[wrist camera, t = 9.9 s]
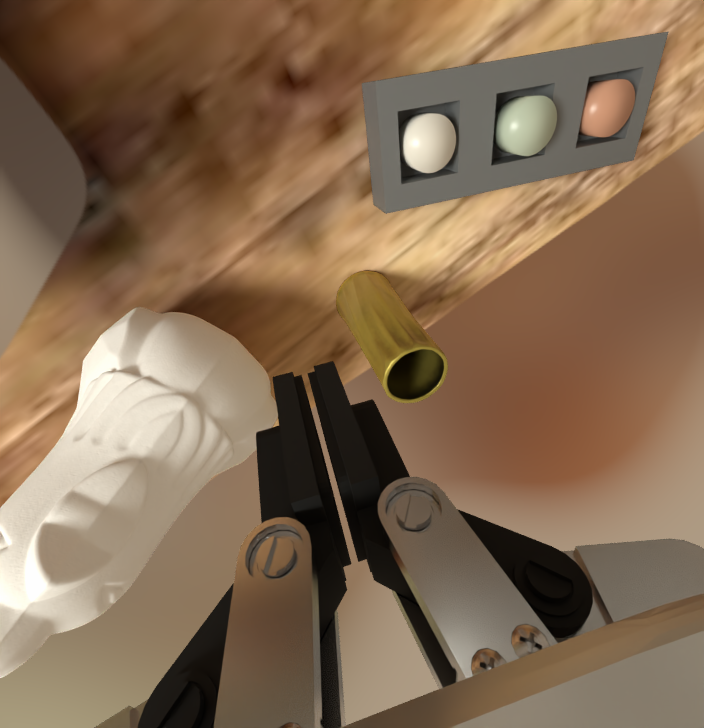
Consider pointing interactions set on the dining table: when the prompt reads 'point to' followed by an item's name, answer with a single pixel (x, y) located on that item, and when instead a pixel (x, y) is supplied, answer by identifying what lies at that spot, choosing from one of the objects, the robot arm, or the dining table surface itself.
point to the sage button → (524, 125)
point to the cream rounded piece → (426, 142)
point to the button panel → (478, 110)
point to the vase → (391, 338)
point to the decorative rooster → (124, 470)
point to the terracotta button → (606, 107)
